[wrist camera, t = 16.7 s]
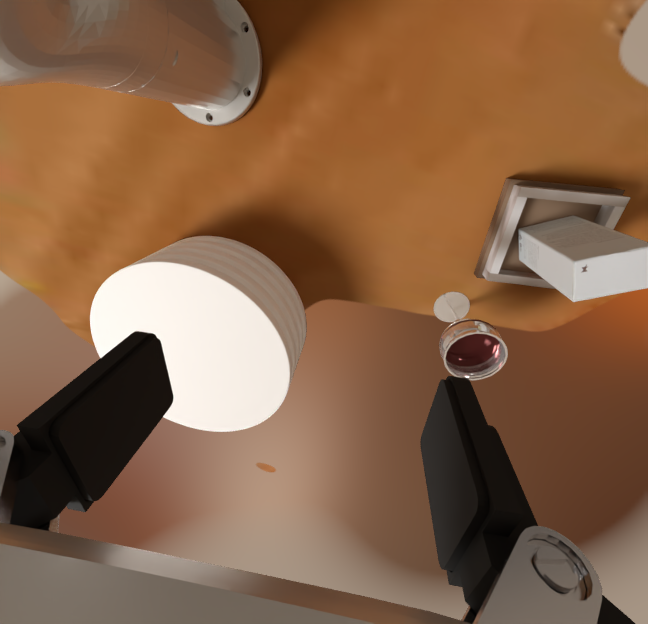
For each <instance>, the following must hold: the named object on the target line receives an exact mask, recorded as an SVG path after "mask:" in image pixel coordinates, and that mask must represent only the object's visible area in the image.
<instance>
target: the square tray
mask: <svg viewBox="0 0 648 624" xmlns="http://www.w3.org/2000/svg"><path fill="white" fill-rule="evenodd" d="M624 191H625V190H620V189H614V188H604V187H593V186H582V185H572V184H561V183H551V182H540V181H530V180H519V179H509V178H506V180H505V183H504V186H503V189H502V192H501V195H500V198H499V201H498V204H497V207H496V210H495V213H494V216H493V219H492V222H491V225H490V227H489V230H488V233H487V236H486V239H485V242H484V245H483V248H482V251H481V254H480V257H479V260H478V263H477V266H476V269H475V272H474V274H475V276H476V277H477V278H484V279H486V280H487V281H495V282H504V283H512V284H520V285H528V286H536V287H544V288H552V289H556V288H555V287H553V286H552V285H551V284H550V283H548V282H547V281H546V280H544V279H543V278H542V277H541V276H539V275H538V274H537V273H536V272H534V271H533V270H532V269H530V268H529V267H528V266H526V265H525V264H524V263H523V262H521V261H520V260H519V235H518V229H519V228H523V227H528V226H532V225H536V224H540V223H544V222H548V221H552V220H556V219H560V218H565V217H569V216H573V215H574V216H577V217H579V218H582V219H585V220H588V221H590V222H593V223H596V224H599V225H601V226H604V227H607V228H610V229H612V230H613V229H614V228H615V226H616V224H617V222H618V220H619V218H620V216H621V215H622V213H623V211H624V209H625V207H626V205H627V203H628V202H629V200H630V198H631V197H626V196H622V195H623V193H624Z"/></svg>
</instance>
